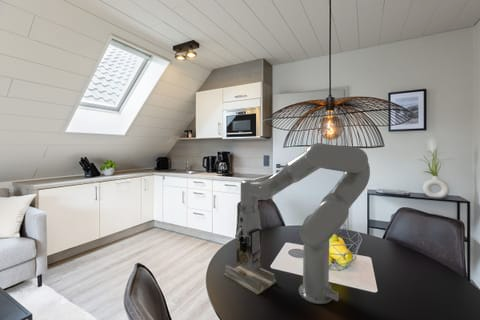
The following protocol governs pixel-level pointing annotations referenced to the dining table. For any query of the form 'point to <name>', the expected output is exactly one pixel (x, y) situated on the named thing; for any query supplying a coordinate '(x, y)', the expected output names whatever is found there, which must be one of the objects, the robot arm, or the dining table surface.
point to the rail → (251, 278)
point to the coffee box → (250, 251)
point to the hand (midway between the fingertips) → (248, 248)
